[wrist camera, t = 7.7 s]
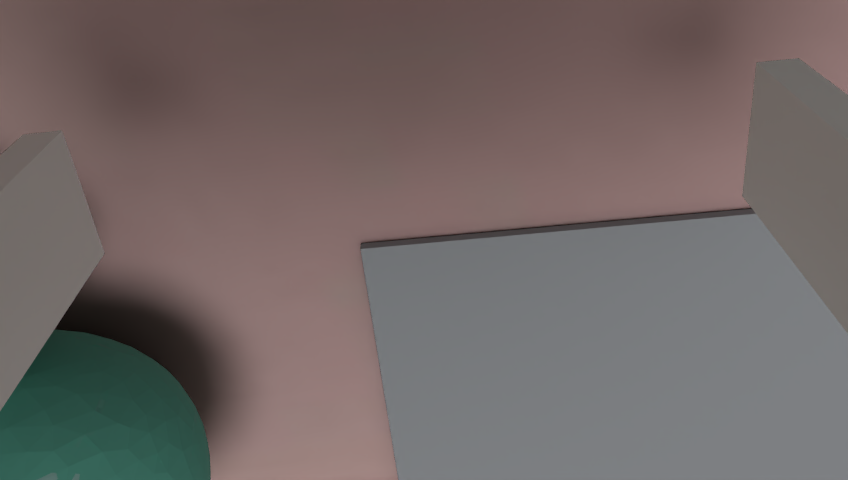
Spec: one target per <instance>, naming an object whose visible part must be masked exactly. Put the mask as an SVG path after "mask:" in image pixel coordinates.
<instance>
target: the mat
mask: <svg viewBox="0 0 848 480" xmlns="http://www.w3.org/2000/svg"><path fill="white" fill-rule="evenodd" d="M361 255H362V261H363V267H364V273H365V279H366V285H367V291H368V297H369V303H370V310H371V316H372V322H373V328H374V334H375V340H376V346H377V352H378V358H379V364H380V370H381V376H382V383H383V389H384V395H385V401H386V407H387V413H388V419H389V425H390V431H391V437H392V443H393V449H394V456H395V462H396V468H397V474H398V480H848V333H847V332H846V331H845V330H844V328H843V327H842V326H841V324H840V323H839V322H838V320H837V319H836V318H835V316H834V315H833V314H832V312H831V311H830V310H829V309H828V307H827V306H826V305H825V303H824V302H823V301H822V299H821V298H820V297H819V295H818V294H817V293H816V292H815V290H814V289H813V288H812V286H811V285H810V284H809V282H808V281H807V280H806V278H805V277H804V276H803V275H802V273H801V272H800V271H799V269H798V268H797V267H796V265H795V264H794V263H793V261H792V260H791V259H790V258H789V256H788V255H787V254H786V252H785V251H784V250H783V248H782V247H781V246H780V244H779V243H778V242H777V241H776V239H775V238H774V237H773V235H772V234H771V233H770V231H769V230H768V229H767V227H766V226H765V225H764V224H763V222H762V221H761V220H760V218H759V217H758V216H757V214H756V213H755V212H754V210H753V209H742V210H731V211H720V212H708V213H697V214H686V215H675V216H664V217H653V218H641V219H630V220H619V221H608V222H597V223H586V224H574V225H563V226H552V227H541V228H530V229H519V230H507V231H496V232H485V233H474V234H463V235H452V236H440V237H429V238H418V239H407V240H396V241H385V242H373V243H362V244H361Z"/></svg>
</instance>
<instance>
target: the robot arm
mask: <svg viewBox="0 0 848 480" xmlns="http://www.w3.org/2000/svg"><path fill="white" fill-rule="evenodd" d="M742 196H743V197H744V199H745V200H746V201H747V203H748V204H749V205H750V206H751V208H752V209H753V210H754V212H755V213H756V214H757V216H758V217H759V218H760V220H761V221H762V222H763V224H764V225H765V226H766V227H767V229H768V230H769V231H770V233H771V234H772V235H773V237H774V238H775V239H776V241H777V242H778V243H779V244H780V246H781V247H782V248H783V250H784V251H785V252H786V254H787V255H788V256H789V258H790V259H791V260H792V261H793V263H794V264H795V265H796V267H797V268H798V269H799V271H800V272H801V273H802V275H803V276H804V277H805V278H806V280H807V281H808V282H809V284H810V285H811V286H812V288H813V289H814V290H815V292H816V293H817V294H818V295H819V297H820V298H821V299H822V301H823V302H824V303H825V305H826V306H827V307H828V309H829V310H830V311H831V312H832V314H833V315H834V316H835V318H836V319H837V320H838V322H839V323H840V324H841V326H842V327H843V328H844V330H845V331H846V332H847V333H848V95H847V94H846V93H844V92H843V91H842V90H840V89H839V88H838V87H836V86H835V85H834V84H832V83H831V82H830V81H828V80H827V79H826V78H824V77H823V76H822V75H820V74H819V73H818V72H816V71H815V70H814V69H812V68H811V67H810V66H808V65H807V64H806V63H804V62H803V61H802V60H800V59H799V58H797V59H786V60H776V61H766V62H756V70H755V80H754V89H753V99H752V108H751V118H750V127H749V137H748V147H747V156H746V166H745V175H744V185H743V194H742ZM104 254H105V253H104V250H103V247H102V244H101V241H100V238H99V236H98V233H97V230H96V227H95V224H94V221H93V218H92V215H91V212H90V210H89V207H88V204H87V201H86V198H85V195H84V192H83V189H82V187H81V184H80V181H79V178H78V175H77V172H76V169H75V166H74V163H73V161H72V158H71V155H70V152H69V149H68V146H67V143H66V140H65V137H64V135H63V132H62V131H53V132H43V133H33V134H23V135H22V136H21V137H20V138H19V139H18V140H17V141H15V142H14V143H13V144H12V145H11V146H10V147H9V148H8V149H7V150H5V151H4V152H3V153H2V154H1V155H0V411H1V409H2V408H3V406H4V405H5V403H6V402H7V400H8V399H9V397H10V396H11V394H12V393H13V391H14V390H15V388H16V387H17V385H18V384H19V382H20V381H21V379H22V377H23V376H24V374H25V373H26V371H27V370H28V368H29V367H30V365H31V364H32V362H33V361H34V359H35V358H36V356H37V355H38V353H39V352H40V350H41V349H42V347H43V346H44V344H45V343H46V341H47V340H48V338H49V337H50V335H51V334H52V332H53V331H54V329H55V328H56V326H57V325H58V323H59V322H60V320H61V319H62V317H63V316H64V314H65V313H66V311H67V310H68V308H69V307H70V305H71V304H72V302H73V301H74V299H75V298H76V296H77V295H78V293H79V291H80V290H81V288H82V287H83V285H84V284H85V282H86V281H87V279H88V278H89V276H90V275H91V273H92V272H93V270H94V269H95V267H96V266H97V264H98V263H99V261H100V260H101V258H102V257H103V255H104Z"/></svg>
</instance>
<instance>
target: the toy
mask: <svg viewBox="0 0 848 480" xmlns="http://www.w3.org/2000/svg"><path fill="white" fill-rule="evenodd" d="M0 480H210V455H209V448H208V442H207V438H206V434H205V429H204V425H203V423H202V420H201V418H200V416H199V414H198V411H197V409H196V407H195V405H194V404H193V402H192V401H191V399H190V397H189V396H188V394H187V393H186V392H185V390H184V389H183V387H182V386H181V384H180V383H179V382H178V381H177V380H176V379H175V378H174V377H173V375H172V374H171V373H170V372H169V371H168V370H167V369H165V368H164V367H163V366H161V365H160V364H159V363H157V362H156V361H155V360H153V359H152V358H150V357H148V356H147V355H145V354H143V353H141V352H140V351H138V350H136V349H135V348H133V347H131V346H128V345H125V344H123V343H120V342H117V341H114V340H112V339H108V338H105V337H101V336H97V335H94V334H89V333H85V332H76V331H66V330H55V329H54V331H53V332H52V334H51V335H50V337H49V338H48V340H47V341H46V343H45V344H44V346H43V347H42V349H41V350H40V352H39V353H38V355H37V356H36V358H35V359H34V361H33V362H32V364H31V365H30V367H29V368H28V370H27V371H26V373H25V374H24V376H23V377H22V379H21V381H20V382H19V384H18V385H17V387H16V388H15V390H14V391H13V393H12V394H11V396H10V397H9V399H8V400H7V402H6V403H5V405H4V406H3V408H2V409H1V411H0Z"/></svg>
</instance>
